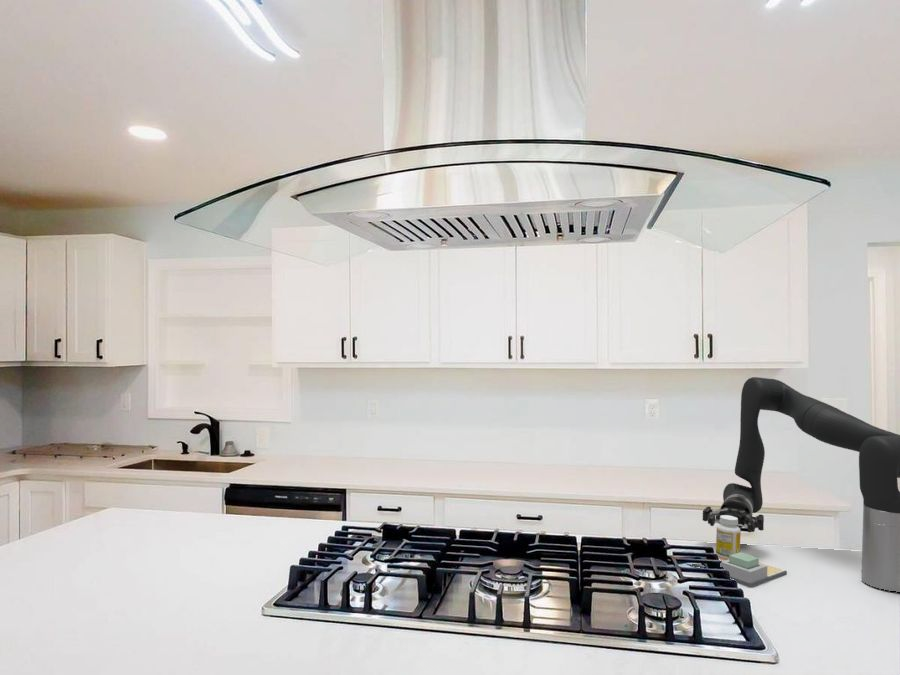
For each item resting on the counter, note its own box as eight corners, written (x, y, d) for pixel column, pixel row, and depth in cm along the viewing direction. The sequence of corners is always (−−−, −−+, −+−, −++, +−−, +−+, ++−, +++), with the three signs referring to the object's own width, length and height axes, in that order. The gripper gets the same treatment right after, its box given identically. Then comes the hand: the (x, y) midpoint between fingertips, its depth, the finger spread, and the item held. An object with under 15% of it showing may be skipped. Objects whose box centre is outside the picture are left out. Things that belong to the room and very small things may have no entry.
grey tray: (786, 574, 142) (787, 560, 142) (751, 587, 134) (751, 572, 134) (722, 553, 155) (722, 540, 155) (686, 564, 147) (686, 550, 147)
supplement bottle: (723, 560, 147) (724, 520, 147) (711, 552, 152) (712, 514, 153) (744, 560, 148) (745, 520, 148) (732, 552, 153) (733, 514, 153)
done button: (758, 569, 138) (758, 558, 138) (747, 572, 136) (748, 561, 136) (739, 563, 142) (740, 552, 142) (729, 566, 139) (729, 555, 139)
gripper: (709, 492, 170) (700, 505, 156) (766, 500, 163) (762, 514, 149) (708, 519, 170) (699, 534, 156) (765, 528, 163) (761, 545, 149)
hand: (730, 525), depth 153 cm, fingers open, 8 cm apart
